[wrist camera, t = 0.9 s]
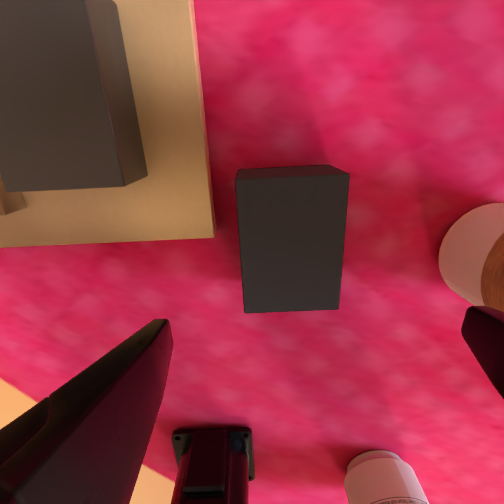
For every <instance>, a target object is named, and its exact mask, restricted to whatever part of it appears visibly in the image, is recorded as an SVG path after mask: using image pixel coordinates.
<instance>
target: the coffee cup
mask: <svg viewBox="0 0 504 504" xmlns="http://www.w3.org/2000/svg"><path fill="white" fill-rule="evenodd" d="M439 269H440V273H441V276H442V278H443V280H444V281H445V283H446V284H447V285H448V286H449V288H450V289H451V290H453V291H454V292H455V293H457V294H458V295H460V296H461V297H463V298H464V299H466V300H467V301H469V302H470V303H471V304H473V305H474V306H488V307H490V308H493V309H496V310H499V311H502V312H504V203H491V204H487V205H482V206H480V207H477V208H475V209H472V210H471V211H469V212H468V213H466V214H464V215H463V216H462V217H461V218H459V219H458V220H457V221H456V222H455V223H454V224H453V225H452V227H451V228H450V229H449V230H448V232H447V234H446V235H445V237H444V239H443V241H442V244H441V247H440V251H439Z"/></svg>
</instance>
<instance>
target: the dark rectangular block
mask: <svg viewBox="0 0 504 504" xmlns="http://www.w3.org/2000/svg"><path fill="white" fill-rule="evenodd" d="M349 179H350V174H349V173H347V172H344V171H342V170H340V169H338V168H335V167H333V166H331V165H313V166H293V167H273V168H253V169H239V170H238V173H237V176H236V179H235V188H236V202H237V216H238V231H239V245H240V259H241V274H242V288H243V302H244V312H245V313H266V312H289V311H312V310H336V309H339V300H340V288H341V276H342V264H343V251H344V239H345V227H346V215H347V203H348V191H349Z"/></svg>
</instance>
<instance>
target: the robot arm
mask: <svg viewBox="0 0 504 504" xmlns="http://www.w3.org/2000/svg"><path fill="white" fill-rule="evenodd" d="M461 332H462V336H463V338H464V340H465V341H466V343H467V344H468V346H469V348H470V349H471V351H472V352H473V354H474V356H475V357H476V359H477V360H478V362H479V364H480V365H481V367H482V368H483V370H484V372H485V373H486V375H487V376H488V378H489V379H490V381H491V382H492V384H493V385H494V387H495V388H496V390H497V391H498V392H499V394H500V395H501V396H502V398H503V399H504V312H502V311H499V310H496V309H493V308H490V307H488V306H471V307H469V308H468V309H467V311H466V314H465V318H464V321H463V324H462V328H461ZM172 350H173V337H172V332H171V327H170V322H169V320H168V319H154V320H152V321H151V322H150V323H148V324H147V325H146V326H144V327H143V328H141V329H140V330H139V331H137V332H136V333H135V334H133V335H132V336H130V337H129V338H128V339H126V340H125V341H123V342H122V343H121V344H119V345H118V346H117V347H115V348H114V349H112V350H111V351H110V352H108V353H107V354H105V355H104V356H103V357H101V358H100V359H99V360H97V361H96V362H94V363H93V364H92V365H90V366H89V367H87V368H86V369H85V370H83V371H82V372H81V373H79V374H78V375H76V376H75V377H74V378H72V379H71V380H69V381H68V382H67V383H65V384H64V385H63V386H61V387H60V388H58V389H57V390H56V391H54V392H53V393H51V394H50V395H49V397H46V398H44V399H43V400H42V401H40V402H39V403H38V404H36V405H35V406H34V407H32V408H31V409H29V410H28V411H26V412H25V413H24V414H22V415H21V416H19V417H18V418H16V419H15V420H14V421H12V422H11V423H9V424H8V425H7V426H5V427H3V428H2V429H1V430H0V504H129V503H130V499H131V496H132V493H133V490H134V487H135V483H136V481H137V478H138V474H139V471H140V468H141V465H142V462H143V459H144V456H145V452H146V449H147V446H148V443H149V440H150V437H151V434H152V430H153V427H154V424H155V421H156V418H157V415H158V412H159V408H160V405H161V402H162V399H163V395H164V390H165V386H166V381H167V376H168V371H169V366H170V361H171V356H172ZM172 442H173V446H174V451H175V455H176V459H177V463H178V473H177V477H176V482H175V487H174V491H173V496H172V501H171V504H248V482H249V481H252V480H254V479H255V469H254V455H253V441H252V430H251V429H250V428H249V427H229V428H202V429H177V430H174V431H173V434H172Z"/></svg>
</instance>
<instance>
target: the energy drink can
mask: <svg viewBox="0 0 504 504" xmlns="http://www.w3.org/2000/svg"><path fill="white" fill-rule="evenodd" d="M344 486H345V490H346V494H347V497H348V501H349V504H429V502H428V500H427V498H426V496H425V494H424V492H423V490H422V487H421V485H420V483H419V481H418V479H417V477H416V475H415V473H414V471H413V469H412V467H411V466H410V465H409V464H407V463H406V462H404V461H402V460H401V458H400V457H399V456H398V455H396V454H395V453H392V452H389V451H384V450H374V451H369V452H365V453H363V454H360V455H358V456H357V457H355V458H354V459H353V460H352V461H351V462H350V463H349V465H348V467H347V475H346V477H345V479H344Z"/></svg>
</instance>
